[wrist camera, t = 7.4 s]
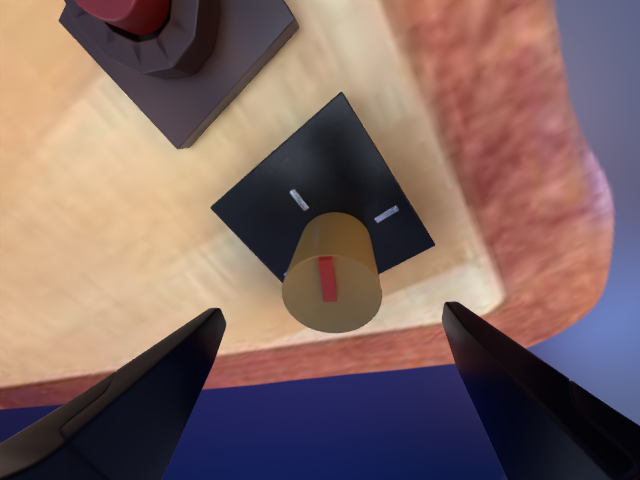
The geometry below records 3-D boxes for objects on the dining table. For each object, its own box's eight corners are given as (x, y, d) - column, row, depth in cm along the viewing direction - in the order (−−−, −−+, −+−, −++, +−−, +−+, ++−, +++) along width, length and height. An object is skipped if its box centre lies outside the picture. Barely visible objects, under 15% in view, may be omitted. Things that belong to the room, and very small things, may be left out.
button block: (176, -173, 10) (111, -286, 7) (299, 27, 12) (286, 1, 9) (76, 24, 13) (7, -2, 10) (188, 148, 16) (156, 152, 13)
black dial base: (342, 97, 13) (341, 90, 11) (426, 234, 17) (442, 256, 14) (230, 194, 17) (207, 208, 14) (318, 291, 20) (314, 319, 17)
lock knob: (371, 272, 15) (383, 339, 10) (306, 274, 16) (289, 339, 11) (370, 208, 13) (383, 256, 8) (295, 214, 14) (269, 261, 9)
